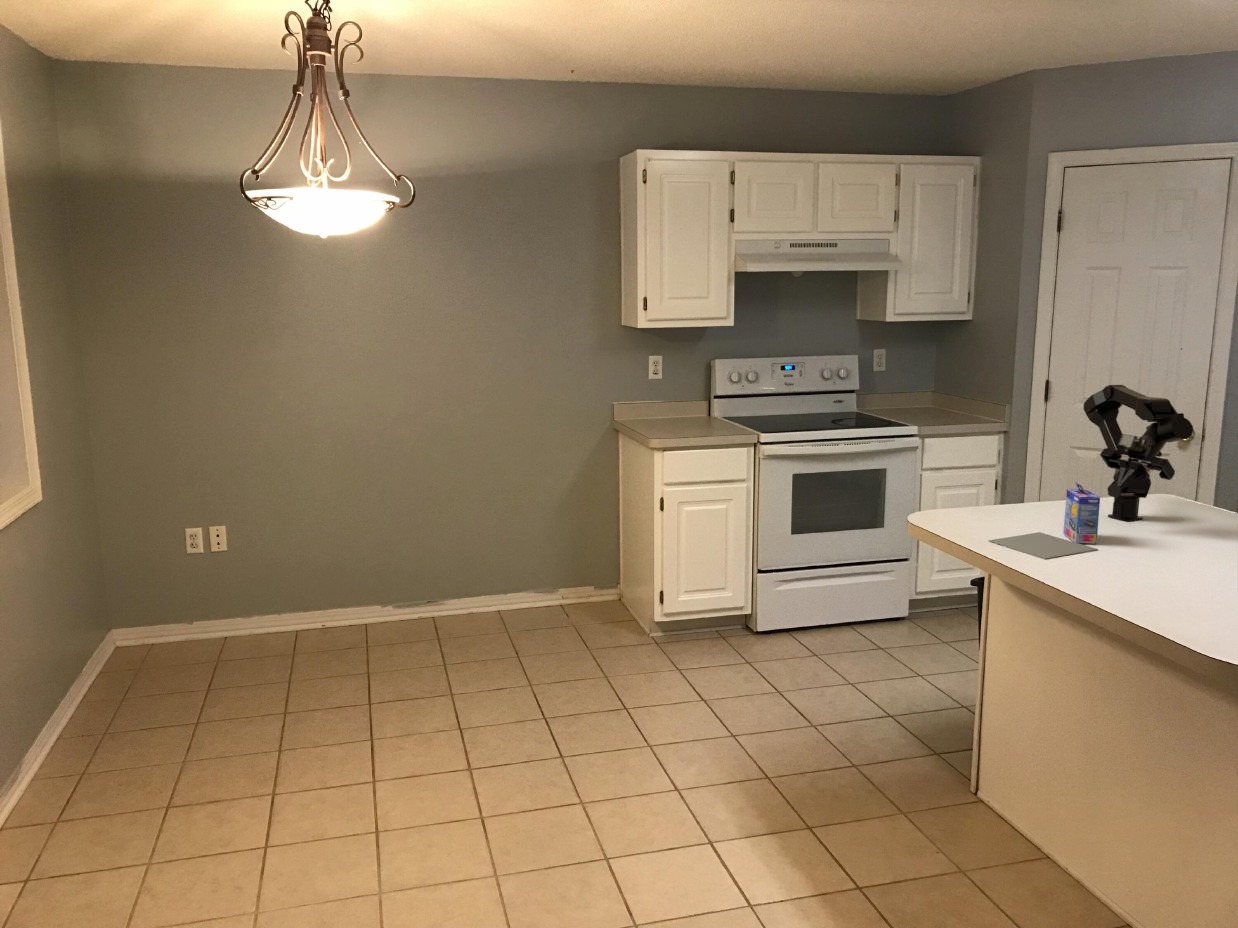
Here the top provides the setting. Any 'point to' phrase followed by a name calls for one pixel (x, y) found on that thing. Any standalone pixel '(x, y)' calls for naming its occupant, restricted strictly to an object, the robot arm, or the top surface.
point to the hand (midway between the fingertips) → (1118, 487)
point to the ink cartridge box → (1081, 515)
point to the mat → (1043, 545)
